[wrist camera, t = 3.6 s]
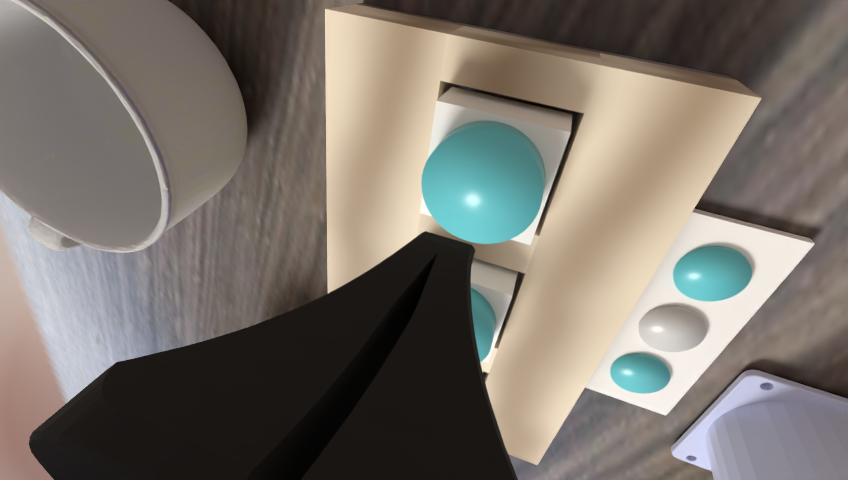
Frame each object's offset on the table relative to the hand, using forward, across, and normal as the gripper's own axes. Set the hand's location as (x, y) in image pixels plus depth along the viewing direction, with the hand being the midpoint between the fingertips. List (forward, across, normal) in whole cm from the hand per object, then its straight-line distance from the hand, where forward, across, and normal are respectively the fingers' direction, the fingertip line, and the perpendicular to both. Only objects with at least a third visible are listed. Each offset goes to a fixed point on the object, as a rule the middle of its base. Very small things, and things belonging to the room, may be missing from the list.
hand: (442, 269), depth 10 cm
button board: (+9, 0, +7) cm, 12 cm away
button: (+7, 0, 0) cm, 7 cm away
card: (+9, -10, +7) cm, 15 cm away
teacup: (+10, +18, +2) cm, 20 cm away
